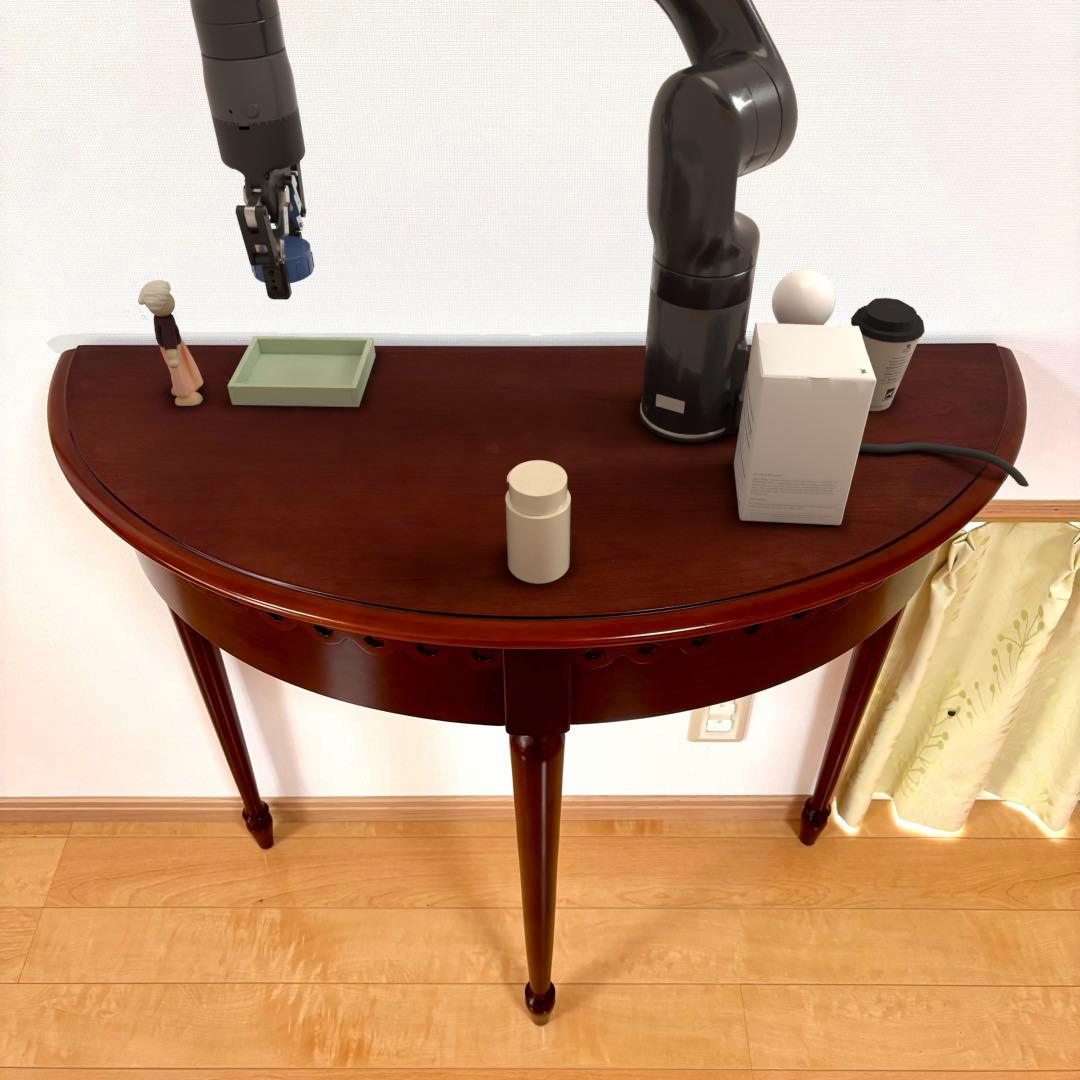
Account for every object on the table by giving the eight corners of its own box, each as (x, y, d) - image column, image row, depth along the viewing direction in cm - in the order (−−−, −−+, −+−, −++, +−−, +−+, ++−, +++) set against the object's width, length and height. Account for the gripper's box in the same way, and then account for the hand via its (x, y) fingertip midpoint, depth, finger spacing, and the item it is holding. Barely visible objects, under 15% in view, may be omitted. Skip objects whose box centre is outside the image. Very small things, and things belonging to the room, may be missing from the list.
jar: (569, 542, 82) (571, 457, 76) (569, 584, 78) (571, 498, 73) (509, 541, 83) (506, 457, 77) (506, 583, 79) (502, 498, 73)
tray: (375, 356, 106) (373, 337, 105) (359, 407, 98) (356, 388, 97) (257, 354, 106) (253, 335, 105) (232, 405, 99) (227, 386, 97)
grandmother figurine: (217, 403, 99) (186, 290, 91) (180, 415, 97) (146, 301, 89) (192, 371, 104) (160, 261, 95) (157, 382, 102) (121, 271, 94)
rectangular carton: (829, 466, 90) (863, 323, 80) (842, 527, 84) (881, 379, 74) (731, 461, 91) (753, 318, 81) (736, 521, 84) (761, 374, 74)
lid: (246, 283, 92) (241, 260, 91) (262, 257, 97) (258, 234, 95) (306, 285, 92) (302, 262, 91) (319, 259, 97) (316, 236, 95)
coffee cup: (909, 419, 96) (936, 330, 89) (838, 416, 97) (859, 327, 90) (896, 382, 101) (920, 295, 95) (829, 379, 102) (848, 292, 95)
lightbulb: (749, 359, 105) (764, 265, 98) (798, 347, 107) (816, 254, 100) (782, 388, 101) (800, 291, 93) (832, 375, 102) (854, 279, 95)
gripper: (234, 79, 90) (269, 250, 101) (185, 132, 79) (230, 317, 90) (314, 80, 89) (340, 251, 101) (275, 133, 79) (309, 318, 90)
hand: (288, 282), depth 95 cm, fingers closed on lid, 5 cm apart
